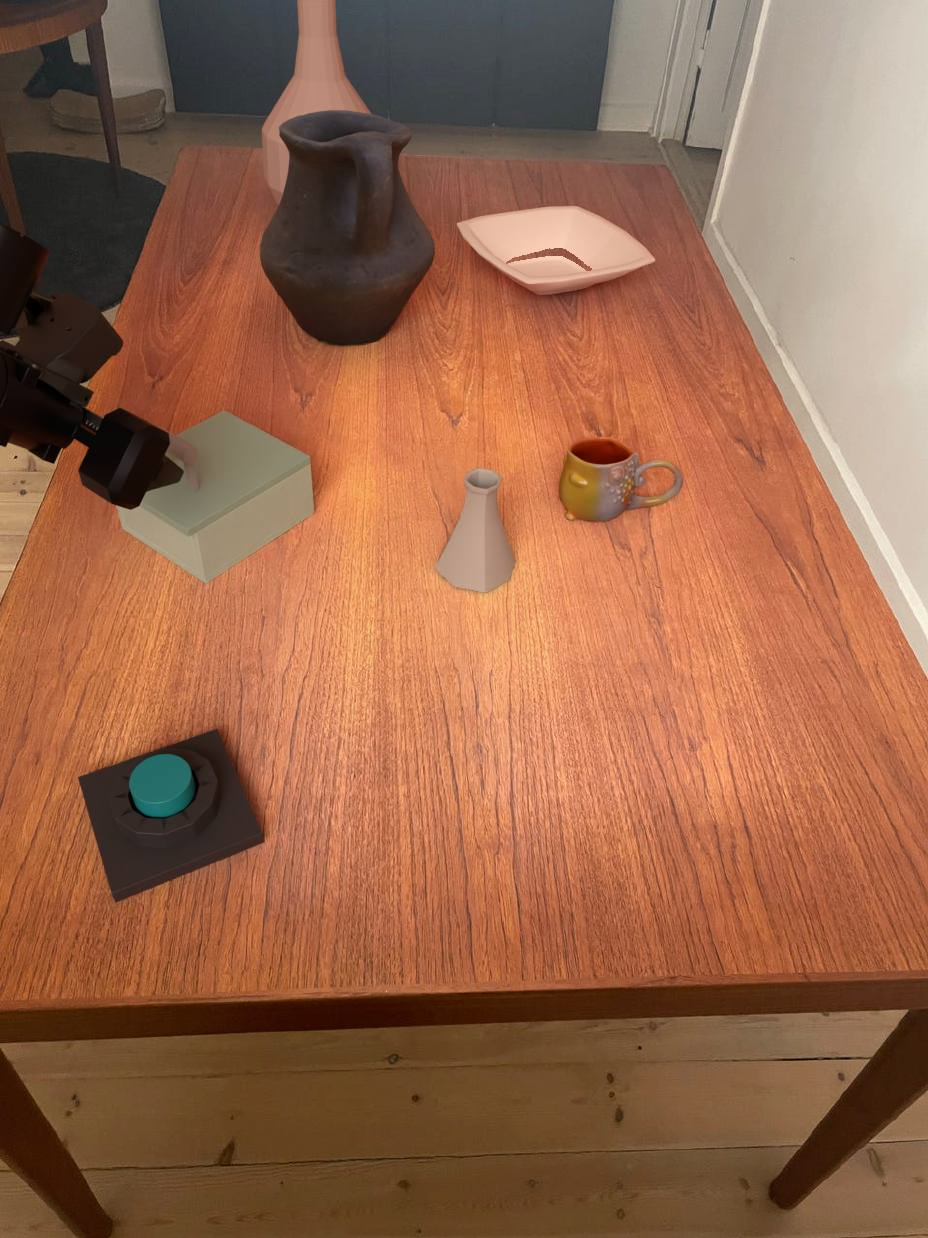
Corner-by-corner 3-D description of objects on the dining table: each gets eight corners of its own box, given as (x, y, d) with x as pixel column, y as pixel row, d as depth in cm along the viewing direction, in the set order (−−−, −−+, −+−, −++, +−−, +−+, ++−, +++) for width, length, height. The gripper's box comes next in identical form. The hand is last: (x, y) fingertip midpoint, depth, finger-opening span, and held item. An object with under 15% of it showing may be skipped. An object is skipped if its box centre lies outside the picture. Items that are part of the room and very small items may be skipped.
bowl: (440, 260, 131) (442, 220, 127) (576, 239, 139) (581, 200, 135) (516, 330, 117) (521, 287, 113) (662, 301, 126) (671, 260, 122)
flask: (528, 561, 85) (540, 473, 78) (488, 604, 80) (497, 515, 73) (463, 532, 87) (469, 444, 80) (420, 572, 83) (423, 483, 76)
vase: (253, 240, 132) (227, -6, 111) (286, 196, 145) (269, -31, 124) (371, 253, 131) (368, 8, 110) (394, 209, 144) (395, -19, 123)
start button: (142, 827, 60) (137, 812, 58) (127, 781, 62) (122, 766, 61) (202, 804, 61) (198, 789, 60) (185, 760, 64) (181, 745, 62)
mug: (555, 522, 89) (564, 466, 85) (557, 481, 94) (566, 426, 89) (677, 536, 89) (693, 480, 84) (673, 494, 94) (687, 439, 89)
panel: (115, 903, 58) (105, 879, 56) (81, 786, 65) (71, 761, 62) (264, 842, 62) (260, 818, 60) (219, 738, 68) (213, 712, 66)
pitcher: (394, 281, 125) (395, 77, 108) (462, 356, 112) (475, 136, 94) (248, 303, 118) (223, 89, 101) (301, 385, 105) (283, 154, 87)
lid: (188, 537, 76) (177, 484, 72) (100, 481, 80) (86, 429, 76) (310, 463, 84) (307, 412, 80) (225, 416, 89) (217, 366, 85)
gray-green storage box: (205, 584, 80) (196, 533, 76) (122, 529, 85) (108, 478, 81) (314, 513, 88) (311, 463, 84) (232, 466, 93) (225, 417, 89)
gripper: (118, 323, 56) (266, 407, 71) (-50, 236, 64) (114, 328, 78) (41, 483, 57) (203, 534, 72) (-116, 379, 65) (59, 444, 79)
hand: (143, 453), depth 75 cm, fingers open, 9 cm apart
